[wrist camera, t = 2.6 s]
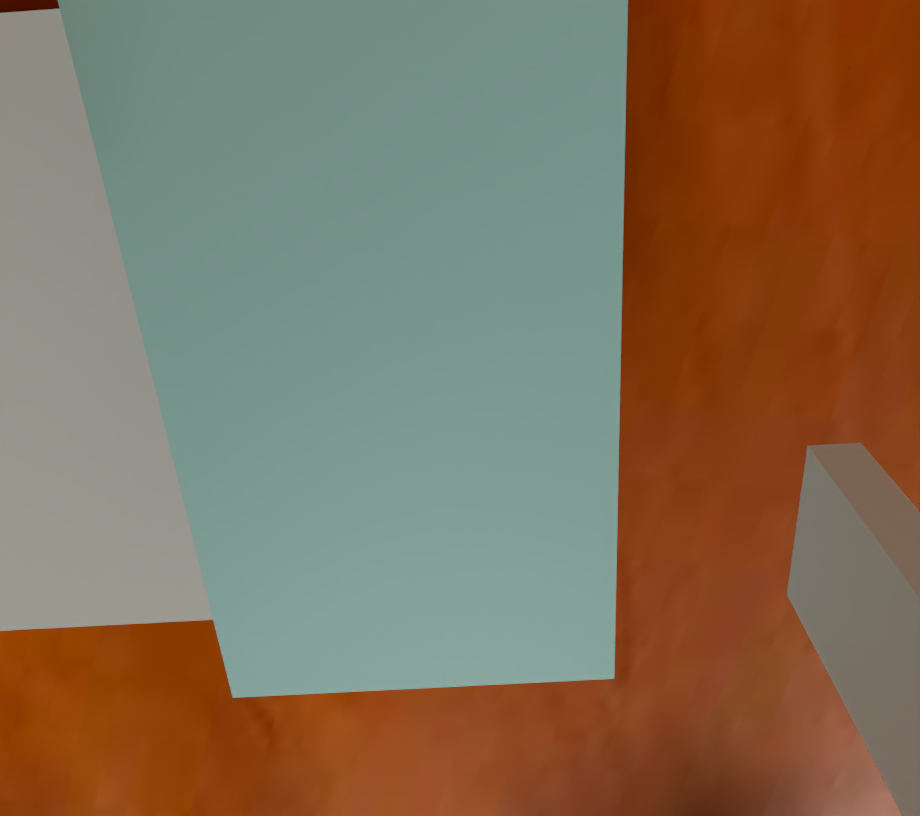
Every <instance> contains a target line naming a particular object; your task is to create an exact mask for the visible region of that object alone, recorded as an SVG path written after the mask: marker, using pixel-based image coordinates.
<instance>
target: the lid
mask: <svg viewBox="0 0 920 816" xmlns="http://www.w3.org/2000/svg"><path fill="white" fill-rule="evenodd" d="M57 1H58V5H59V9H60V12H61V16H62V20H63V24H64V28H65V32H66V36H67V40H68V44H69V48H70V52H71V56H72V60H73V64H74V68H75V72H76V76H77V80H78V84H79V88H80V92H81V96H82V100H83V104H84V108H85V112H86V116H87V120H88V124H89V128H90V132H91V136H92V140H93V144H94V148H95V152H96V156H97V160H98V164H99V168H100V172H101V176H102V180H103V184H104V187H105V191H106V195H107V199H108V203H109V207H110V211H111V215H112V219H113V223H114V227H115V231H116V235H117V239H118V243H119V247H120V251H121V255H122V259H123V263H124V267H125V271H126V275H127V279H128V283H129V287H130V291H131V295H132V299H133V303H134V307H135V311H136V315H137V319H138V323H139V327H140V331H141V335H142V339H143V343H144V347H145V351H146V355H147V359H148V362H149V366H150V370H151V374H152V378H153V382H154V386H155V390H156V394H157V398H158V402H159V406H160V410H161V414H162V418H163V422H164V426H165V430H166V434H167V438H168V442H169V446H170V450H171V454H172V458H173V462H174V466H175V470H176V474H177V478H178V482H179V486H180V490H181V494H182V498H183V502H184V506H185V510H186V514H187V518H188V522H189V526H190V530H191V533H192V537H193V541H194V545H195V549H196V553H197V557H198V561H199V565H200V569H201V573H202V577H203V581H204V585H205V589H206V593H207V597H208V601H209V605H210V609H211V613H212V617H213V621H214V625H215V629H216V633H217V637H218V641H219V645H220V649H221V653H222V657H223V661H224V665H225V669H226V673H227V677H228V681H229V685H230V689H231V693H232V697H233V698H238V697H258V696H278V695H298V694H318V693H338V692H358V691H378V690H398V689H418V688H438V687H459V686H479V685H499V684H519V683H539V682H559V681H579V680H599V679H614V667H615V618H616V569H617V519H618V470H619V421H620V372H621V322H622V273H623V224H624V175H625V125H626V76H627V27H628V0H57Z"/></svg>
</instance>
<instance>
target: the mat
mask: <svg viewBox="0 0 920 816" xmlns="http://www.w3.org/2000/svg"><path fill="white" fill-rule="evenodd" d="M197 620H213V617H212V613H211V609H210V605H209V601H208V597H207V593H206V589H205V585H204V581H203V577H202V573H201V569H200V565H199V561H198V557H197V553H196V549H195V545H194V541H193V537H192V533H191V530H190V526H189V522H188V518H187V514H186V510H185V506H184V502H183V498H182V494H181V490H180V486H179V482H178V478H177V474H176V470H175V466H174V462H173V458H172V454H171V450H170V446H169V442H168V438H167V434H166V430H165V426H164V422H163V418H162V414H161V410H160V406H159V402H158V398H157V394H156V390H155V386H154V382H153V378H152V374H151V370H150V366H149V362H148V359H147V355H146V351H145V347H144V343H143V339H142V335H141V331H140V327H139V323H138V319H137V315H136V311H135V307H134V303H133V299H132V295H131V291H130V287H129V283H128V279H127V275H126V271H125V267H124V263H123V259H122V255H121V251H120V247H119V243H118V239H117V235H116V231H115V227H114V223H113V219H112V215H111V211H110V207H109V203H108V199H107V195H106V191H105V187H104V184H103V180H102V176H101V172H100V168H99V164H98V160H97V156H96V152H95V148H94V144H93V140H92V136H91V132H90V128H89V124H88V120H87V116H86V112H85V108H84V104H83V100H82V96H81V92H80V88H79V84H78V80H77V76H76V72H75V68H74V64H73V60H72V56H71V52H70V48H69V44H68V40H67V36H66V32H65V28H64V24H63V20H62V16H61V12H60V9H46V10H33V11H19V12H6V13H0V631H7V630H26V629H45V628H64V627H83V626H102V625H121V624H140V623H159V622H178V621H197Z"/></svg>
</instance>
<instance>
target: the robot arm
mask: <svg viewBox="0 0 920 816" xmlns="http://www.w3.org/2000/svg"><path fill="white" fill-rule="evenodd" d="M787 596H788V597H789V599H790V601H791V603H792V605H793V607H794V609H795V611H796V613H797V615H798V617H799V619H800V620H801V622H802V624H803V626H804V628H805V630H806V632H807V634H808V636H809V638H810V640H811V642H812V643H813V645H814V647H815V649H816V651H817V653H818V655H819V657H820V659H821V661H822V663H823V665H824V666H825V668H826V670H827V672H828V674H829V676H830V678H831V680H832V682H833V684H834V686H835V688H836V689H837V691H838V693H839V695H840V697H841V699H842V701H843V703H844V705H845V707H846V709H847V711H848V712H849V714H850V716H851V718H852V720H853V722H854V724H855V726H856V728H857V730H858V732H859V734H860V735H861V737H862V739H863V741H864V743H865V745H866V747H867V749H868V751H869V753H870V755H871V757H872V758H873V760H874V762H875V764H876V766H877V768H878V770H879V772H880V774H881V776H882V778H883V780H884V781H885V783H886V785H887V787H888V789H889V791H890V793H891V795H892V797H893V799H894V801H895V803H896V804H897V806H898V808H899V810H900V812H901V814H902V816H920V511H919V510H918V509H917V508H916V507H915V506H914V504H913V503H912V502H911V501H910V500H909V499H908V497H907V496H906V495H905V494H904V493H903V492H902V490H901V489H900V488H899V487H898V486H897V485H896V483H895V482H894V481H893V480H892V479H891V478H890V476H889V475H888V474H887V473H886V472H885V471H884V469H883V468H882V467H881V466H880V465H879V463H878V462H877V461H876V460H875V459H874V458H873V456H872V455H871V454H870V453H869V452H868V451H867V449H866V448H865V447H864V446H863V445H862V444H861V443H847V444H828V445H809V446H807V453H806V461H805V468H804V475H803V482H802V490H801V497H800V504H799V511H798V518H797V526H796V533H795V540H794V547H793V554H792V562H791V569H790V576H789V583H788V591H787Z"/></svg>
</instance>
